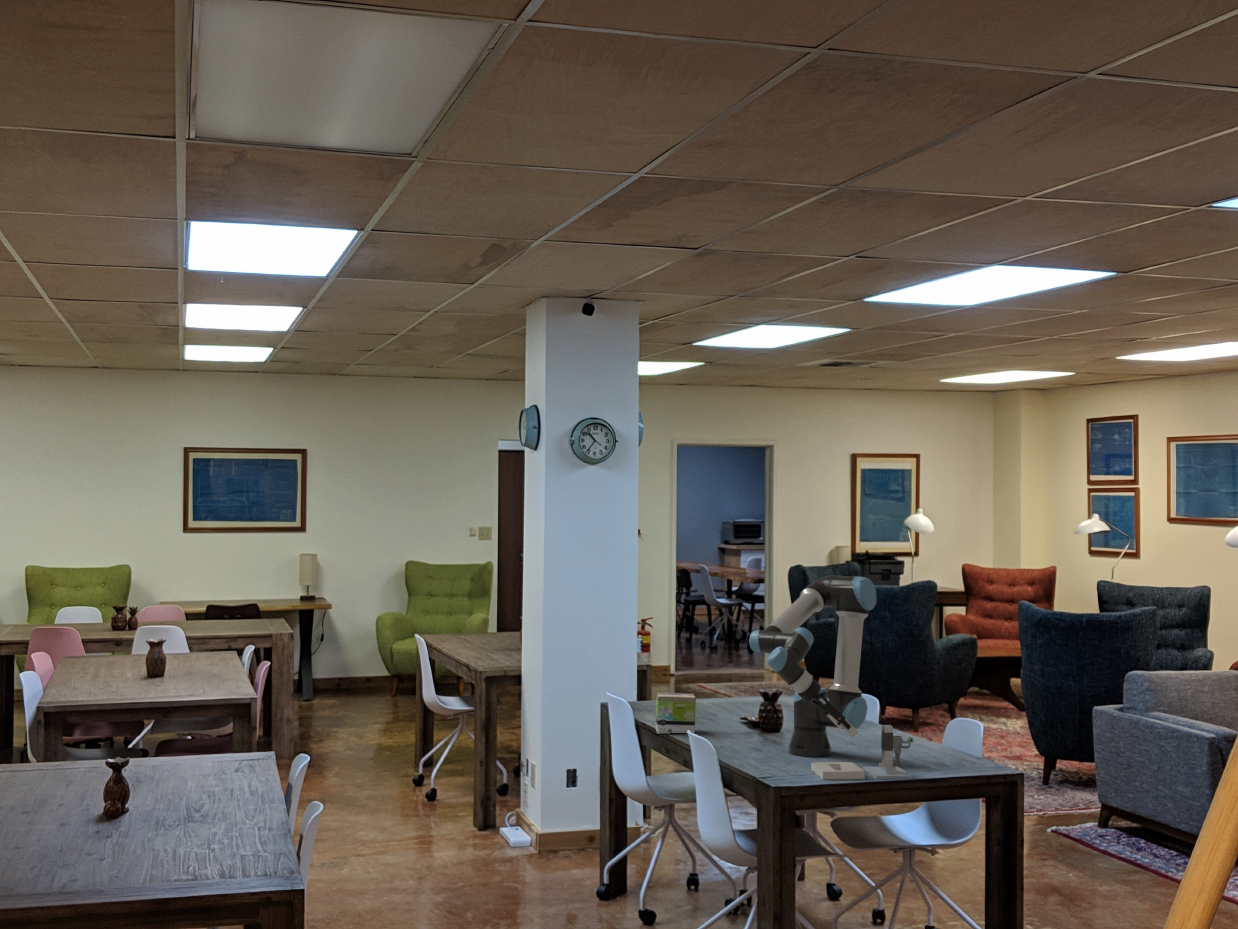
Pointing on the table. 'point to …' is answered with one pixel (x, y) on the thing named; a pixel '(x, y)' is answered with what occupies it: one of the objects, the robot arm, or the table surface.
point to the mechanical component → (898, 745)
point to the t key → (887, 750)
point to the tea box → (675, 712)
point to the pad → (881, 775)
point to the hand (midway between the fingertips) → (849, 730)
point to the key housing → (838, 770)
